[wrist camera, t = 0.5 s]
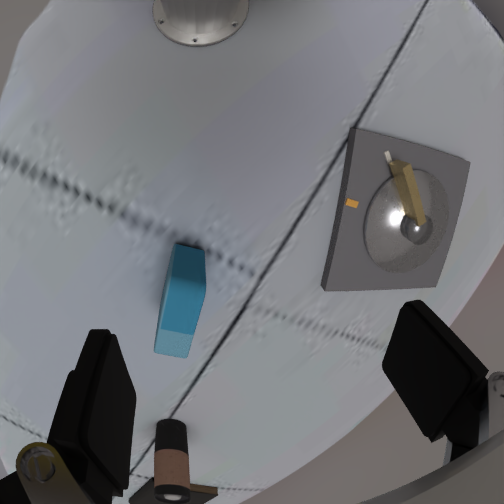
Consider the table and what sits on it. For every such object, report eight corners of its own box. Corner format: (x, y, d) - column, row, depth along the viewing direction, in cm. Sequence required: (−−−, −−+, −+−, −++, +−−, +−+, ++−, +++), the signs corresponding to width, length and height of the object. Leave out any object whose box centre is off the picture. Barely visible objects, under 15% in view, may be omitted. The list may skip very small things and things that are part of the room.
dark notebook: (183, 515, 88) (128, 504, 80) (183, 507, 92) (128, 496, 84) (219, 495, 79) (152, 484, 71) (218, 486, 83) (152, 474, 75)
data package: (186, 312, 49) (186, 363, 38) (159, 306, 48) (152, 357, 37) (204, 246, 45) (207, 290, 34) (174, 239, 44) (167, 281, 33)
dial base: (350, 127, 40) (357, 128, 38) (463, 159, 45) (471, 162, 43) (320, 285, 51) (325, 292, 49) (430, 282, 56) (436, 287, 54)
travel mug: (192, 431, 64) (197, 502, 46) (164, 436, 64) (165, 505, 46) (178, 415, 60) (181, 492, 43) (149, 420, 60) (146, 495, 42)
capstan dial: (451, 238, 49) (466, 248, 45) (379, 288, 51) (392, 301, 47) (429, 138, 40) (447, 142, 36) (341, 187, 42) (356, 195, 38)
